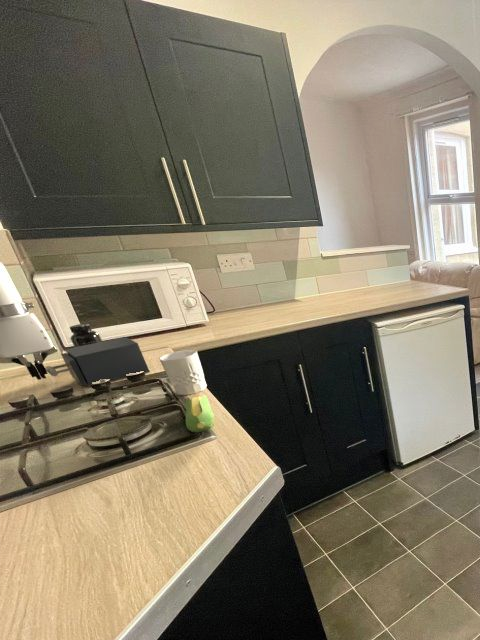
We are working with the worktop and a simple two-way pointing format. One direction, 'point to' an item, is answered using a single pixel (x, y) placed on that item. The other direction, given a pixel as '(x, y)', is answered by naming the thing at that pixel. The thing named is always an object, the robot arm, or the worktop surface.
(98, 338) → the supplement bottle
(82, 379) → the drawer
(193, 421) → the edible corn
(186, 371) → the white cup
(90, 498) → the worktop surface
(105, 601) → the worktop surface
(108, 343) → the cabinet
